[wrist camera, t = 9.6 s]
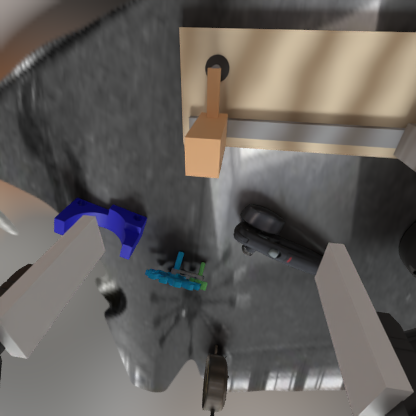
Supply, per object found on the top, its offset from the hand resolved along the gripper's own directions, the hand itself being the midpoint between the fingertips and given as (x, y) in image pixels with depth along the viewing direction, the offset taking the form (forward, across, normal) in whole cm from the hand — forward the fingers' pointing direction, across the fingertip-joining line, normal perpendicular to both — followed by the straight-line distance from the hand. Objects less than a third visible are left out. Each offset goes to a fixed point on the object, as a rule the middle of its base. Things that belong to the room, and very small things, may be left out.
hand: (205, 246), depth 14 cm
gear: (+22, +8, +25) cm, 34 cm away
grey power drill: (+22, -1, +57) cm, 61 cm away
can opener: (+22, -10, +16) cm, 29 cm away
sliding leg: (+19, +2, -4) cm, 19 cm away
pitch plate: (+21, -8, -5) cm, 23 cm away
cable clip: (+21, +19, +15) cm, 32 cm away
